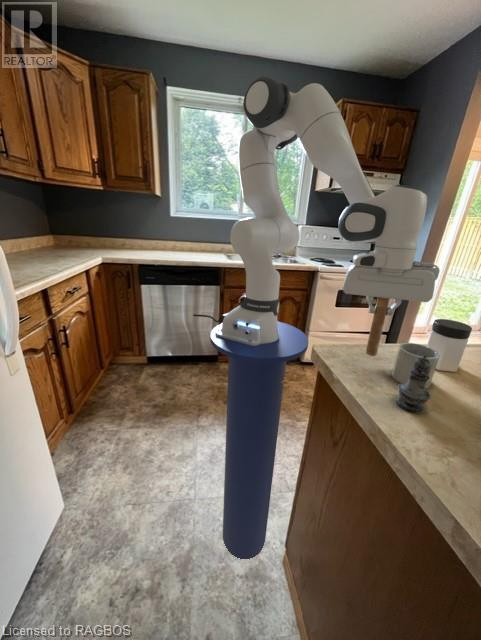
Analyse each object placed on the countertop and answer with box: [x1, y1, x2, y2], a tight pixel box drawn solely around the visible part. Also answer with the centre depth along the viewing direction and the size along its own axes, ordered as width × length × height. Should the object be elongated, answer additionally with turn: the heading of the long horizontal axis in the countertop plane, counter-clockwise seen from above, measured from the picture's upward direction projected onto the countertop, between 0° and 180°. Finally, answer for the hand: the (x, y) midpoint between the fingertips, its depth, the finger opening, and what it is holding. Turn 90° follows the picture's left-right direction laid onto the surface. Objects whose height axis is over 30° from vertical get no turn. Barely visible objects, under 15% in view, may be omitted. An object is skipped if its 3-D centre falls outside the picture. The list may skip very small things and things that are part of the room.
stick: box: [365, 297, 391, 357], centre depth 71 cm, size 3×3×18 cm
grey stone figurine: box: [395, 355, 432, 414], centre depth 55 cm, size 6×6×12 cm
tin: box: [391, 342, 440, 389], centre depth 66 cm, size 8×8×8 cm
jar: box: [426, 318, 473, 373], centre depth 73 cm, size 9×8×12 cm
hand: (379, 313), depth 70 cm, fingers closed on stick, 3 cm apart
